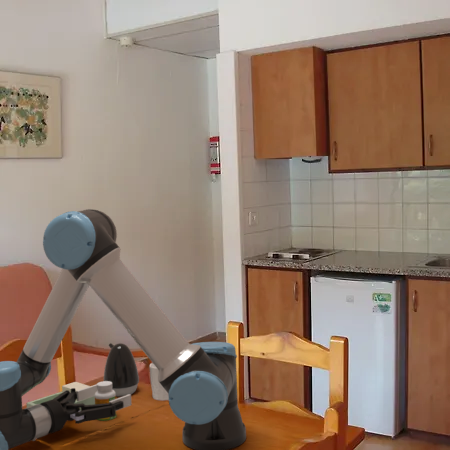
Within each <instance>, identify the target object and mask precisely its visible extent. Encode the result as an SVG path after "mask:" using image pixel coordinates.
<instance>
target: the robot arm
mask: <svg viewBox="0 0 450 450" xmlns="http://www.w3.org/2000/svg"><path fill="white" fill-rule="evenodd" d="M117 235H118V234H117V228H116V225H115V223H114V221H113V219H112V218H111V217H110V216H109V215H107V214H106V212H103V211H101V210H99V209H98V210H97V209H91V208H88V209H83V210H78V211H76V210H75V211H74V210H71V211H67V212H64V213H62V214H60V215H58V216H56V217H54V218H52V220H50V222H49V223H48V225H47V226H46V227H45V230H44V233H43V239H42V247H43V252H44V254H45V256H46V258H47V259H48V260H49V262H50V263H52V265H54V266H56V267H58V268H60V269H61V270H60V272H59V274H58V276H57V278H56V280H55V283H54V285H53V286H52V288H51V291H50V293H49V295H48V297H47V299H46V301H45V303H44V305H43V307H42V308H41V311H40V313H39V315H38V317H37V319H36V322H35V324H34V325H33V328H32V330H31V331H30V333H29V336H28V338H27V339H26V342H25V344H24V346H23V349H22V350H21V352H20V354H19V357H18V358H17V360H16V361H12V360H4V361H0V450H11V449H13V448H15V447H19V446H21V445H23V444H25V443H28V442H31V441H32V442H35V441H36V440H37V439H40V438H42V437H45V436H47V435H50V434H53V433H57V432H59V431H61V430H62V429H63V428H64V427H65V425H66V423H67V422H72V421H75V424H76V425H78V424H82V423H85V422H90V421H96V420H97V419H102V418H108V417H114V416H116V413H117V411H119V410H122V409H125V408H128V407H130V406H132V394H128V395H126V396H119V397H118V398H117V397H116V399H115V400H112V401H109V403H105V404H94V405H85V404H83V403H82V404H74V403H75V401H76V399H77V401H82V400H85V399H88V398H90V397H93V396H95V393H96V392H97V391H98V390H97V383H96V384H94V385H91V386H90V385H89V386H90V387H87V388H84V389H81V390H78V391H77V392H75V388H72V389H71V392H69V391H68V390H66V391H64V392H63V393H61V394H60V395H58V396H57V397H55V398H54V399H53V400H49V401H46V402H43V403H41V404H36V405H33V406H30V407H28V408H27V407H24V408H23V398H22V397H23V396H24V395H25V394H27V393H28V392H30V391H31V390H32V389H34V388H35V387H37V386H38V385H40V384H42V383H43V382H44V381H45V380H46V379H47V378H48V377H49V375H50V373H51V371H52V370H51V369H52V361H53V358H54V357H55V354H56V353H57V351H58V349H59V347H60V344H61V343H62V341H63V338H64V337H65V334H66V333H67V331H68V329H69V326H70V325H71V323H72V321H73V319H74V317H75V315H76V313H77V310H78V308H79V307H80V304H82V303H81V302H82V301H83V299H84V297H85V295H86V293H87V291H88V288H89V287H90V288H91V289H92V290H93V291H94V293H95V294H96V295H97V296H98V297H99V299H100V301H102V303H103V304H104V305H105V306H106V308H108V310H109V311H110V313H112V315H113V316H114V318H115V319H116V320H117V321H118V322H119V324H121V326H122V327H123V328H124V329H125V330H126V332H127V333H128V335H129V336H130V337H131V338H132V339H133V340H134V342H135V343H136V344H137V346H139V348H140V349H141V350H142V351H143V353H144V354H145V355H146V357H147V358H148V359H149V360H150V361H151V363H153V364H154V365H155V366H156V368H157V369H158V371H159V375H158V381H159V383H160V384H161V385H162V386H163V388H164V389H165V390H166V391H167V393H168V394H169V400H168V403H169V408H170V409H171V412H173V414H174V415H175V417H177V418H178V419H179V420H181V421H183V422H184V426H183V428H182V442H183V444H184V445H185V446H186V447H188V448H189V449H193V450H231V449H234V448H237V447H239V446H241V445H242V444H243V443H244V442H245V441H246V439H247V430H246V429H247V427H246V425H245V423H244V422H243V418H242V414H241V412H240V409H239V406H238V382H237V380H238V378H237V377H238V376H237V357H238V356H237V353H236V347H235V345H234V344H233V343H230V342H225V341H202V342H193V343H189V341H188V340H187V339H186V337H184V335H183V334H182V333H181V331H179V329H178V328H177V327H176V326H175V325H174V323H173V322H172V321H171V320H170V318H169V317H168V316H167V315H166V313H165V312H164V311H163V310H162V309H161V307H160V306H159V305H158V304H157V302H155V300H154V298H152V297H151V295H150V294H149V293H148V292H147V290H146V289H145V288H144V287H143V285H141V283H140V281H138V280H137V279H136V277H135V275H134V274H133V273H132V272H131V271H130V269H129V268H128V267H127V266H126V265H125V263H124V262H123V261H122V259H121V248H120V246H119V245H118V244H117V237H118V236H117ZM80 407H81V411H80ZM116 417H117V416H116ZM97 421H98V420H97Z"/></svg>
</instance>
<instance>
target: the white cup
mask: <svg viewBox="0 0 450 450" xmlns="http://www.w3.org/2000/svg"><path fill="white" fill-rule="evenodd" d="M158 375H159V371H158V369H157V368H156V366H155V365H154V364H153V363H152V362H151V363H150V364H149V376H150V377H149V378H150V385H151V391H152V398H153V400H156V401H169V394H168V393H167V391H166V390H165V389H164V388H163V386H162V385H161V384H160V383H159V381H158Z"/></svg>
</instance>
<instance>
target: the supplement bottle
mask: <svg viewBox="0 0 450 450" xmlns="http://www.w3.org/2000/svg"><path fill="white" fill-rule="evenodd" d="M96 384H97V390H98V391H97V392H96V393H95V404H105V403H109V401H112V400H115V399H117V396H116V394H115V391H114V390H112V382H110V381H99V382H97V383H96ZM115 418H117V412H116V416H114V417H108V418H102V419H97V421H100V422H101V421H103V422H107V421H112V420H115Z"/></svg>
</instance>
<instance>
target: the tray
mask: <svg viewBox="0 0 450 450" xmlns="http://www.w3.org/2000/svg"><path fill="white" fill-rule="evenodd" d="M61 393H62V391H60V392H56V393H53V394H50V395H46V396H43V397H40V398H38V399H37V398H36V399H35V400H31V401H28V402H26V408H28V407H30V406H33V405H36V404H41V403H43V402H46V401H49V400H53V399H54V398H55V397H57V396H58V395H60V394H61ZM82 403H83V404H85V405H94V404H95V396H93V397H90V398H88V399H85V400H82V401H75V403H74V404H82ZM80 411H81V407H80Z"/></svg>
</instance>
